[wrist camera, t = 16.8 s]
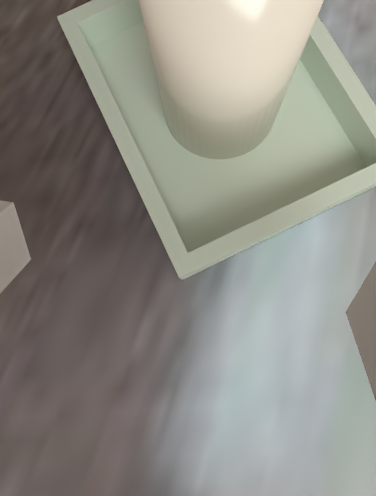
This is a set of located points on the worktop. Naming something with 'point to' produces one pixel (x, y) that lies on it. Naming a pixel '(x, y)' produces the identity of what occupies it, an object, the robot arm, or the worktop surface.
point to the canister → (225, 67)
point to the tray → (234, 169)
